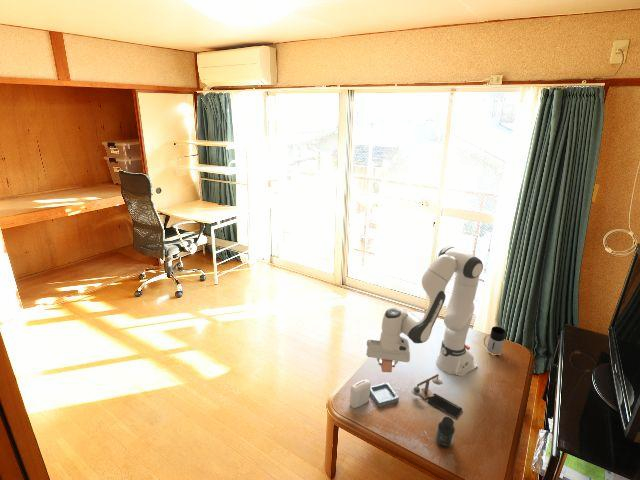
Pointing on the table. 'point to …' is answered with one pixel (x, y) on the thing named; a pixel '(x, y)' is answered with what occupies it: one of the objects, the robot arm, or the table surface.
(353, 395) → the photo printer
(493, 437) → the table surface
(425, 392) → the tipped balance
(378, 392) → the dish
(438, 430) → the supplement bottle
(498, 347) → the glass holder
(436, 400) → the phone
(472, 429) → the table surface
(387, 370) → the terracotta block
